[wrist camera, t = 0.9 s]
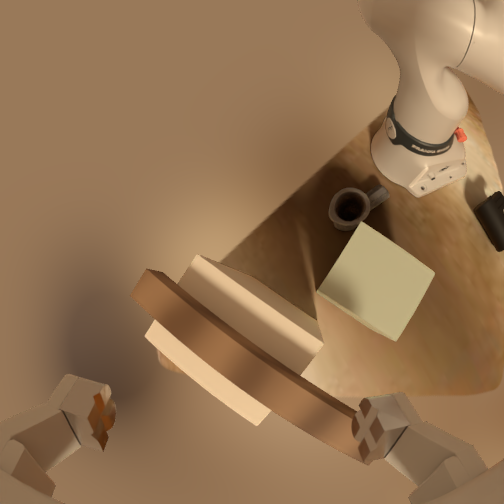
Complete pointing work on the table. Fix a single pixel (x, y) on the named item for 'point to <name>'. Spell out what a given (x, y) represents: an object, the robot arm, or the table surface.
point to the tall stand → (241, 330)
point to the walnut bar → (247, 363)
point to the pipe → (354, 206)
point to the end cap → (493, 218)
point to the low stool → (376, 282)
